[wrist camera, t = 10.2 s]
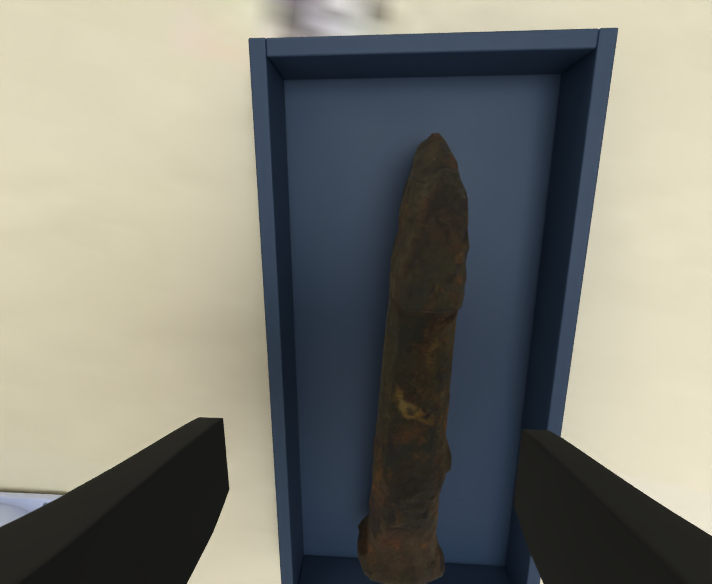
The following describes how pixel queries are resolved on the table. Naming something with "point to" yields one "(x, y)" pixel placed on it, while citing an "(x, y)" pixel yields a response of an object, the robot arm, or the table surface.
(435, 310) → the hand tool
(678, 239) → the table surface
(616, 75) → the table surface
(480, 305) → the desk tray
